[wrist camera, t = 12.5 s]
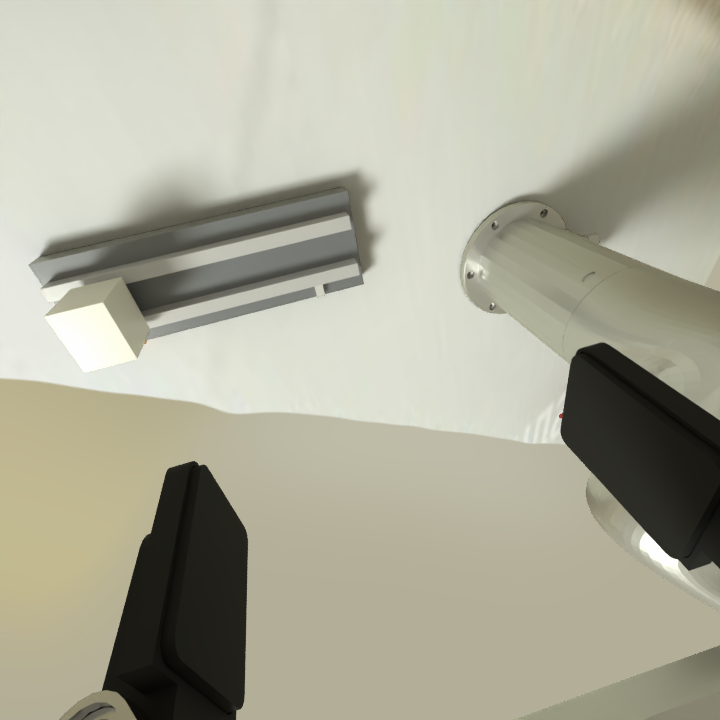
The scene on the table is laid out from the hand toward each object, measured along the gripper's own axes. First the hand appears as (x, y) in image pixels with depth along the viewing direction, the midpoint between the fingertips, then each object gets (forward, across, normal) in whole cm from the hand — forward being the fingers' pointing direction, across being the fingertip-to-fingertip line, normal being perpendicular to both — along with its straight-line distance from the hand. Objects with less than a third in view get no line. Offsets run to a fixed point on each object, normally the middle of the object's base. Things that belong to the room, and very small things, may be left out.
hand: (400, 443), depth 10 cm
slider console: (+32, +9, +4) cm, 33 cm away
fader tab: (+29, +18, +4) cm, 34 cm away
